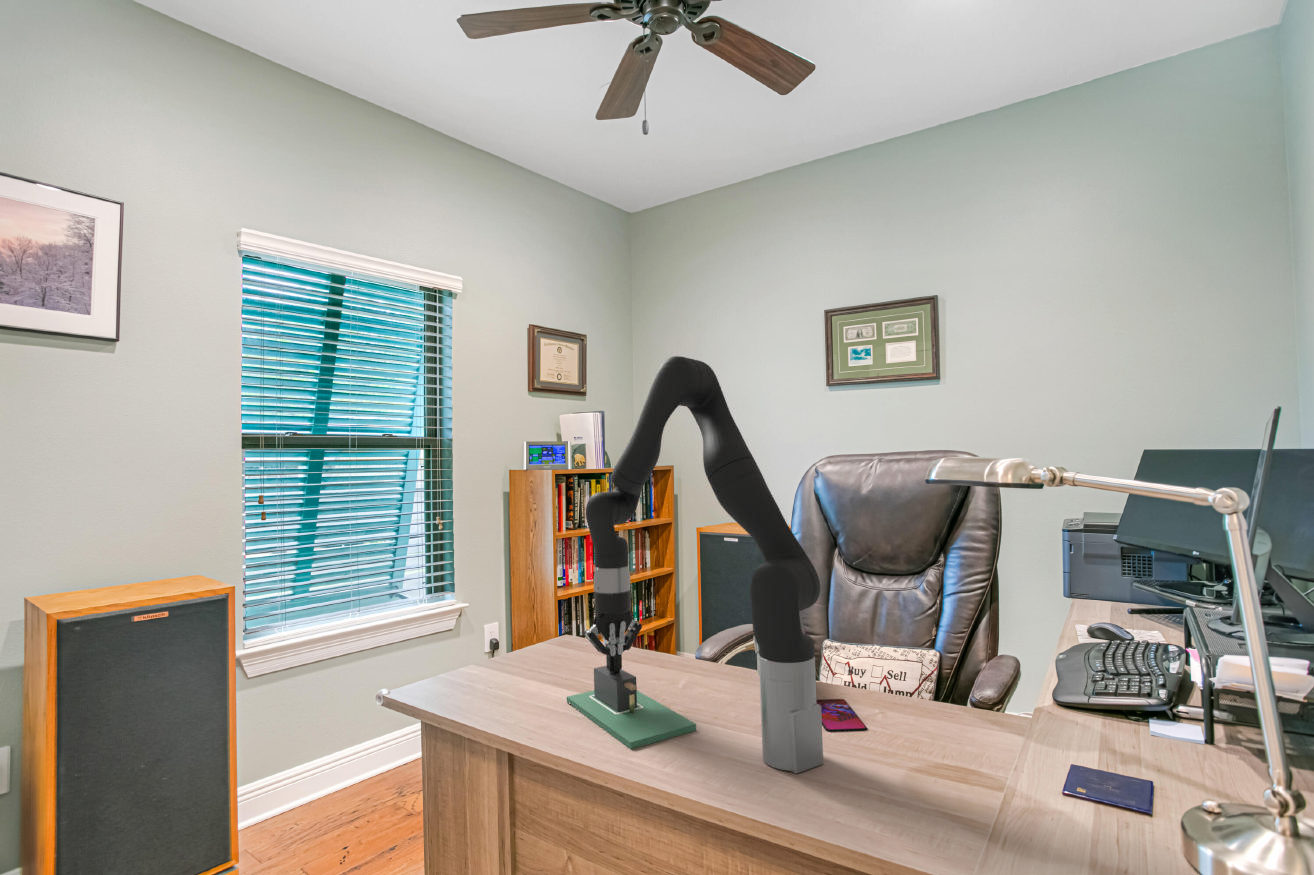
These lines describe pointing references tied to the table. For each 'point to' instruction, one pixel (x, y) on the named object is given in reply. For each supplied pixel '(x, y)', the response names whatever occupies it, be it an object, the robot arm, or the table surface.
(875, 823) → the table surface
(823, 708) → the smartphone
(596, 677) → the plug housing
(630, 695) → the header pins
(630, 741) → the header board
